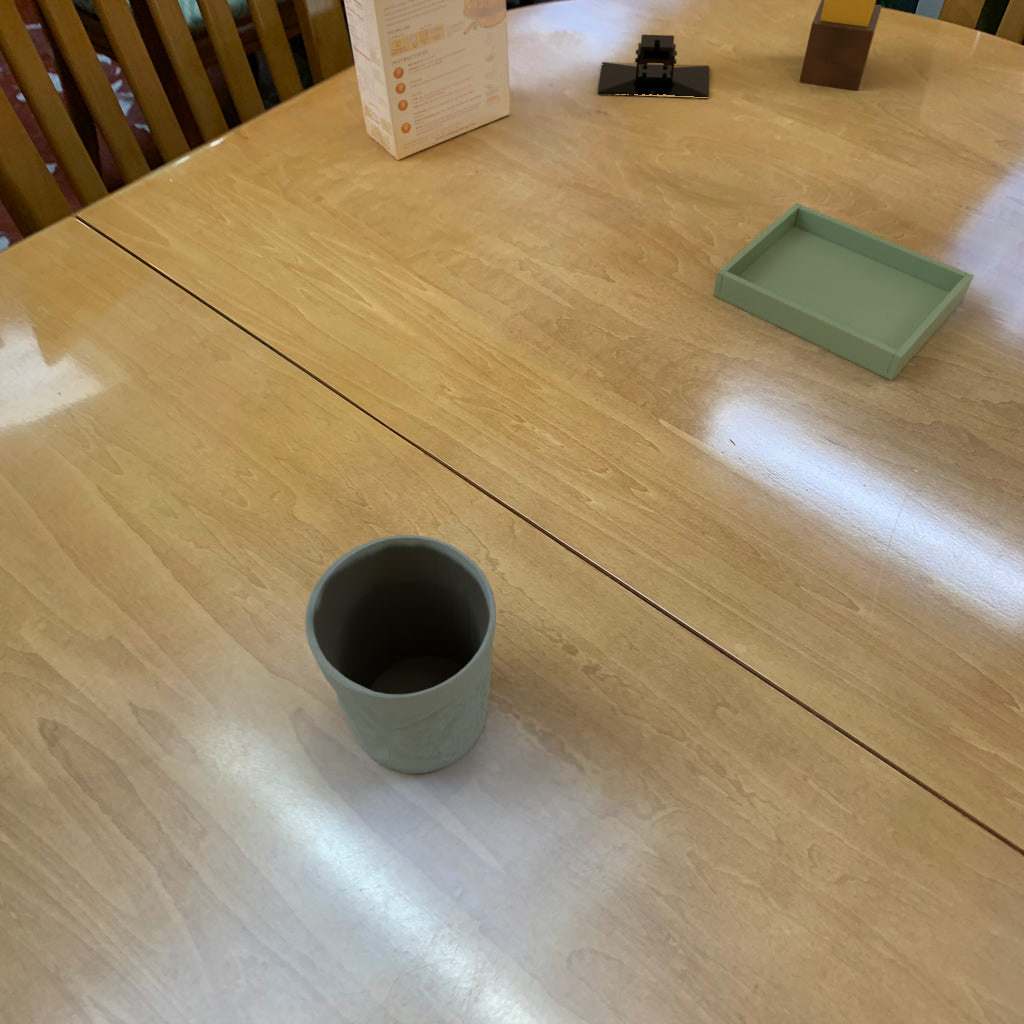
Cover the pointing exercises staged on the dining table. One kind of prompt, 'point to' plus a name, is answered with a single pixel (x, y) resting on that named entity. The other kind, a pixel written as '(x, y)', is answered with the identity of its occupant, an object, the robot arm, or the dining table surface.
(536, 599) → the dining table surface
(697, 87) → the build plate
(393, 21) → the coffeecake box
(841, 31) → the base block
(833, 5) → the top block
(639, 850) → the dining table surface
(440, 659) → the grey green cup
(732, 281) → the tray
